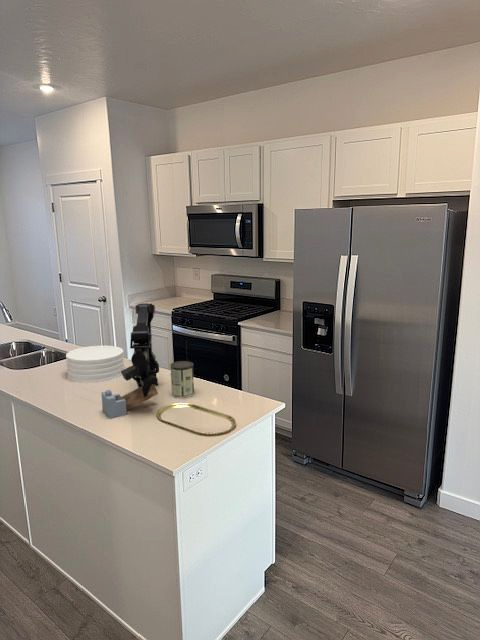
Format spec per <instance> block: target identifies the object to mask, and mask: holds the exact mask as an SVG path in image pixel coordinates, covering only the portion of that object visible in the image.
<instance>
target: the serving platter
mask: <svg viewBox="0 0 480 640" xmlns="http://www.w3.org/2000/svg"><path fill="white" fill-rule="evenodd" d="M177 408H178V409H179V408H188V409H193V410H197V411H200V412H203V413H207V414H210V415H212V416H216V417H219V418H222V419H225V420H228V421H229V422H230V424H231V426H230V428H229V429H227V430H223V431H220V432H210V433H209V432H200V431H196V430H194V429H190V428H188V427H185V426H182V425H179V424H176V423H173V422H170V421H168V420H165V419H163V418H162V414H163V413H165V412H166V411H168V410H172V409H177ZM156 417H157V418H158V419H159V420H160V421H162V422H164V423H166V424H170V425H172V426H175V427H178V428H180V429H184V430H185V431H188V432H192V433H195V434H198V435H201V436H202V435H203V436H216V435H217V436H220V435H222V434H226V433H228V432H230V431H231V430H233V429H234V428H235V426H236V424H237V422H236V418H234V416H231V415H229V414H227V413H223V412H220V411H217V410H214V409H210V408H208V407H204V406H201V405H198V404H194V403H188V402H187V403H185V402H183V403H182V402H180V403H171V404H167V405H165V406H162V407H160V408H159V409H158V410H157V411H156Z"/></svg>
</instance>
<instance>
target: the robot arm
mask: <svg viewBox="0 0 480 640" xmlns="http://www.w3.org/2000/svg"><path fill="white" fill-rule="evenodd" d="M135 314H136V315H137V318H136V319H137V320H136V325H134V326H133V327H132V332H130V342H129V343H130V344H129V345H130V347H129V349H131V350H132V349H133V353H132V355H131V359H130V361H131V364H132V365H131V366H128V367H127V368H124V370H122V371H121V373H122V375H121V376H122V378H123V379H124V380H125V381H127V382H128V381H131V380H132V379H133V380H134V381H135V382H136V384H137V388H139V387H141V386H142V390H143V395H144V397H146V396H147V394H148V392H149V390H150V388H151V386H152V385H153V384H155V386H159V379H158V376H157V374H158V373H160V365H159V363H158V360H157V357H156V354H155V353H154V352H153V342H152V341H153V339H152V337H153V336H152V321H153V319H154V317H155V314H156V305H154V304H153V303H148V302H146V303H138V304H136V305H135Z"/></svg>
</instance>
